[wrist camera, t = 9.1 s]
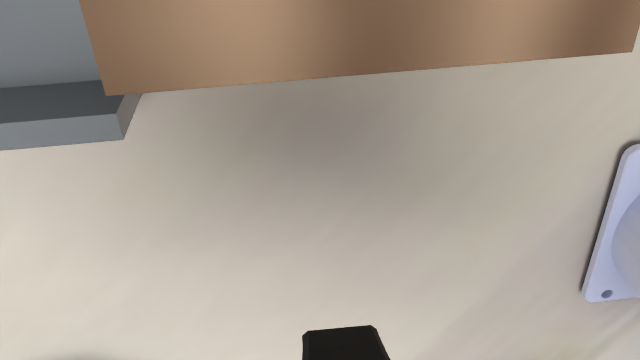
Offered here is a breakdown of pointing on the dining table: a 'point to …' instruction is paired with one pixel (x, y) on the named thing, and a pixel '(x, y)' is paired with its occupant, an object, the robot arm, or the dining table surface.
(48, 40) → the tray
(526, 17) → the bench board
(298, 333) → the dining table surface
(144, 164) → the dining table surface
